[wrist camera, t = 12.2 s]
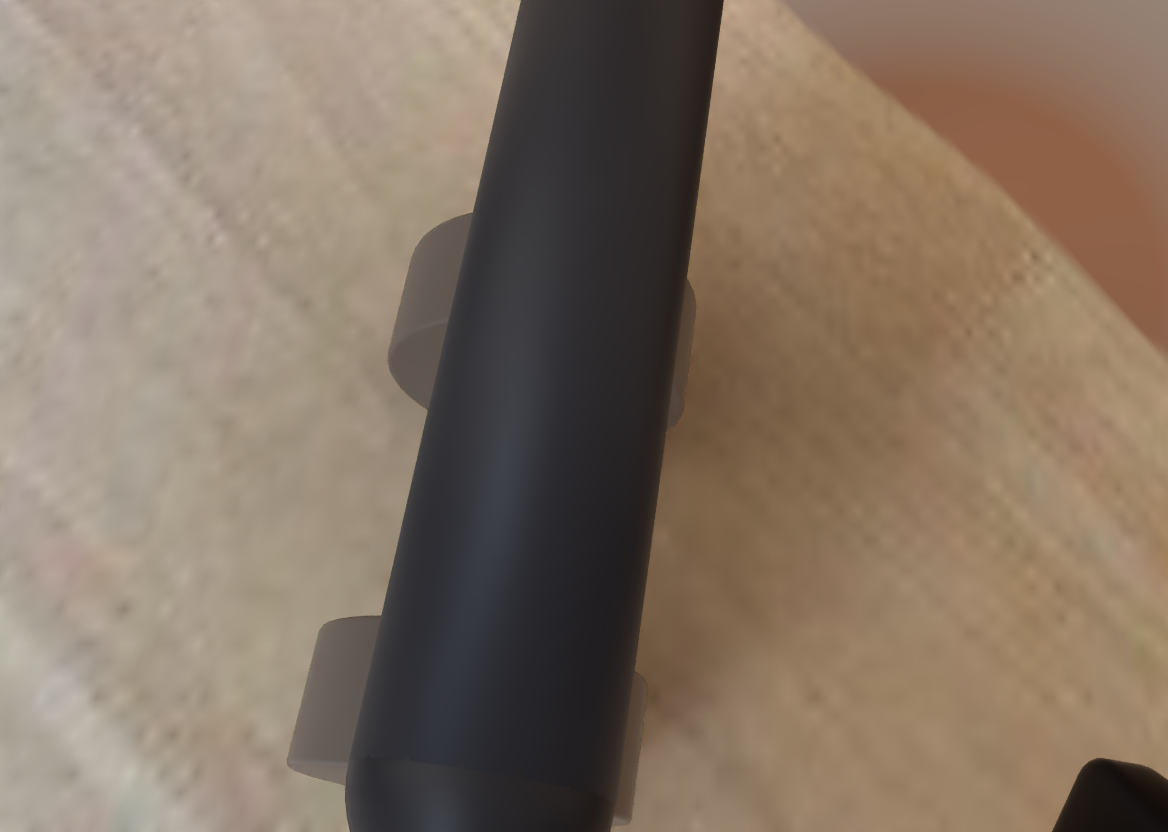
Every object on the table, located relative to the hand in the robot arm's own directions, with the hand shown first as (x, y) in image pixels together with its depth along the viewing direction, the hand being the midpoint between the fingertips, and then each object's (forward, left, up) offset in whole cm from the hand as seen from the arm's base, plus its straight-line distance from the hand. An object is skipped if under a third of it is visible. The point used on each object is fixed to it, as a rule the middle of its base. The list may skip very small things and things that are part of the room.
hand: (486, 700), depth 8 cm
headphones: (+1, +3, -8) cm, 8 cm away
